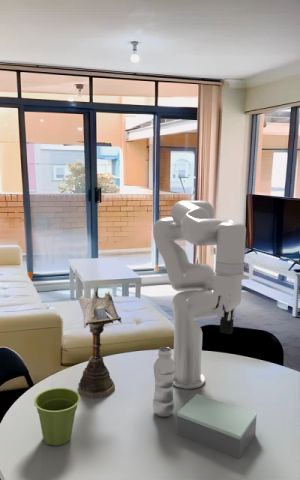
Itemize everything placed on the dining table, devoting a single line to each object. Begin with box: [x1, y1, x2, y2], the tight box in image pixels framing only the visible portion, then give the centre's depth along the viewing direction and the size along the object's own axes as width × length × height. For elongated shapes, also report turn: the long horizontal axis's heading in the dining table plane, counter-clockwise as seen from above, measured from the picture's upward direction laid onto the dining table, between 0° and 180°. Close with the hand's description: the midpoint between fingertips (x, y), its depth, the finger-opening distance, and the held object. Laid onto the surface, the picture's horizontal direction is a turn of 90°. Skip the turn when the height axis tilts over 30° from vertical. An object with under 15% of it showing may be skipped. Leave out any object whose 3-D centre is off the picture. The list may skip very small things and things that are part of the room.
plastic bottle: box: [152, 346, 175, 418], centre depth 122 cm, size 6×7×20 cm
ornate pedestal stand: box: [78, 284, 122, 399], centre depth 132 cm, size 17×13×35 cm
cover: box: [176, 393, 258, 440], centre depth 114 cm, size 18×12×1 cm, turn 57°
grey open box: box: [176, 416, 257, 459], centre depth 114 cm, size 18×12×5 cm, turn 57°
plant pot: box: [33, 387, 81, 447], centre depth 110 cm, size 12×12×11 cm
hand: (226, 332), depth 116 cm, fingers closed
